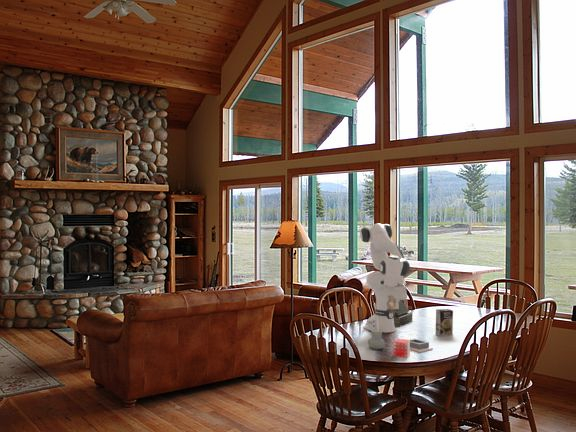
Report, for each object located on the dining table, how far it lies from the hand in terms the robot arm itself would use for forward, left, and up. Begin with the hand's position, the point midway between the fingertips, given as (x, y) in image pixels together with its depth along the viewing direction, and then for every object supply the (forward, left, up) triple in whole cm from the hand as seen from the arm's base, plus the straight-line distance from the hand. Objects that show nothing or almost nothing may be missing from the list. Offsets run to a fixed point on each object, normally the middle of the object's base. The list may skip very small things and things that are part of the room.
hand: (392, 305), depth 329 cm
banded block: (0, 0, -4) cm, 4 cm away
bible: (-44, +45, -23) cm, 67 cm away
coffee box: (+2, +45, -23) cm, 51 cm away
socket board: (+17, +3, -23) cm, 29 cm away
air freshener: (+5, -18, -23) cm, 29 cm away
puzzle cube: (+22, -15, -23) cm, 35 cm away
